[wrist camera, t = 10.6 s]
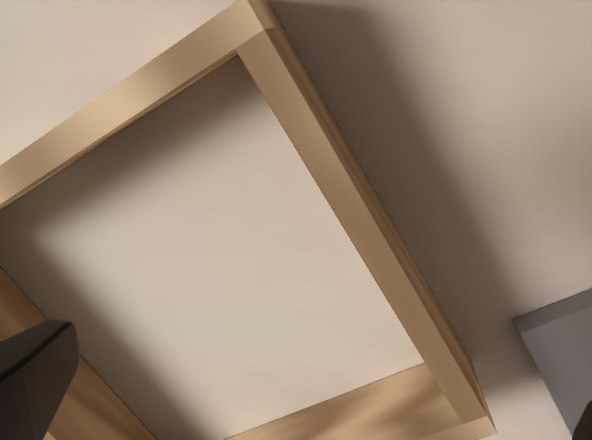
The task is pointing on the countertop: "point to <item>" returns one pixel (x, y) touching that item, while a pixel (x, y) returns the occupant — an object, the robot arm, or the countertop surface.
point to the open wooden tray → (344, 202)
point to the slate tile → (563, 351)
